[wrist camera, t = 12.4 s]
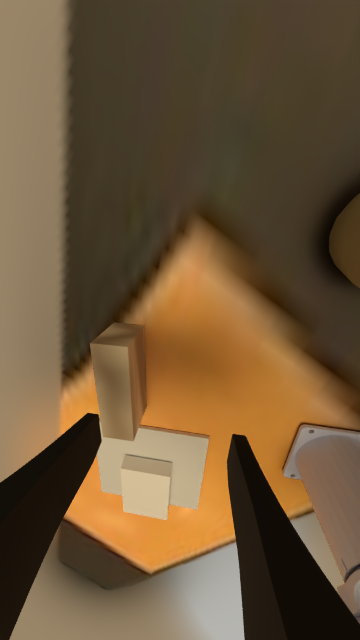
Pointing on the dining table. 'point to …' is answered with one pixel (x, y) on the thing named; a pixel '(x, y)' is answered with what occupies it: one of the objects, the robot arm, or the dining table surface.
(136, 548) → the dining table surface
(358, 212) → the squeeze bottle
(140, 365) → the wooden bar
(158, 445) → the mat
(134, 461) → the tile
